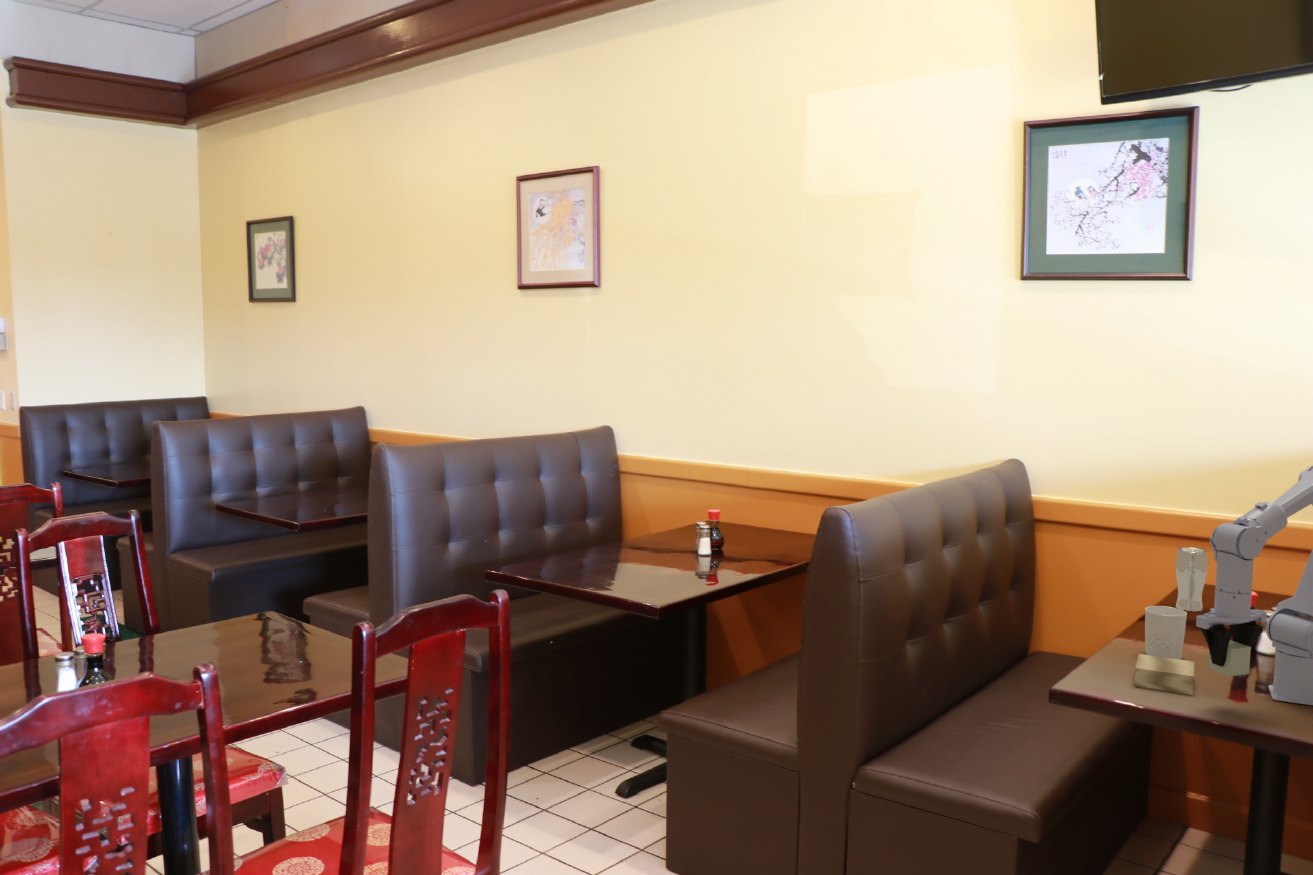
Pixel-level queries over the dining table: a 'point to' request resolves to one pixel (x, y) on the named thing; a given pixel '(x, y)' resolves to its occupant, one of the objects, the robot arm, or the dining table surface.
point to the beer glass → (1190, 578)
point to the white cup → (1164, 631)
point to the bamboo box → (1164, 674)
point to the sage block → (1234, 660)
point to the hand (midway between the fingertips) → (1228, 663)
